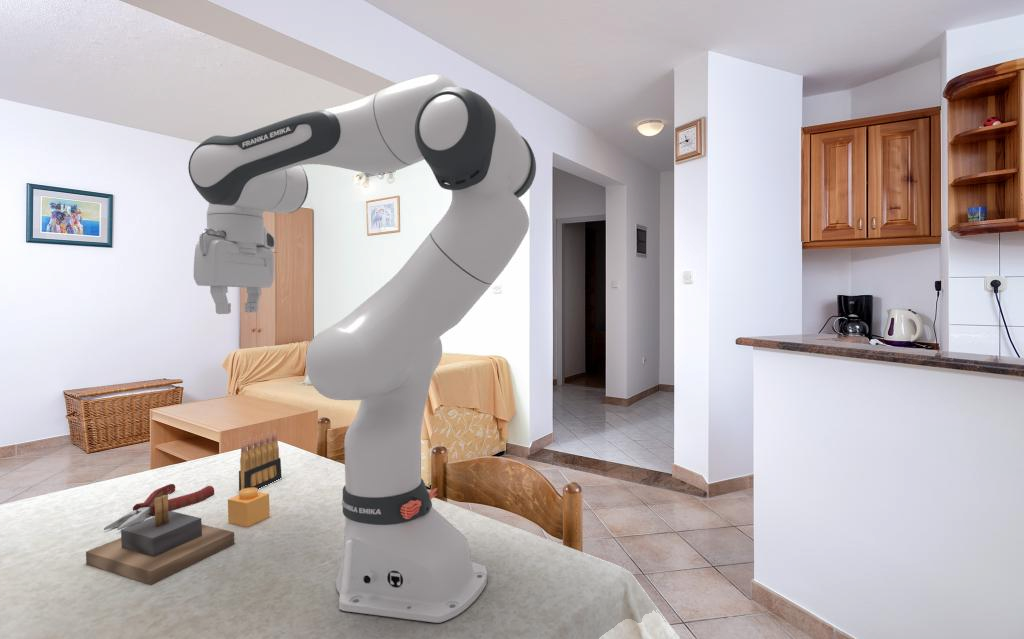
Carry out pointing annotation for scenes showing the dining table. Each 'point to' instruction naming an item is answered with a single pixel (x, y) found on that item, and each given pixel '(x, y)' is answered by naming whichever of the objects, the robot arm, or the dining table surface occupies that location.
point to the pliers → (148, 506)
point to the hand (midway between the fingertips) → (238, 313)
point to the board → (159, 562)
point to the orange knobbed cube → (248, 507)
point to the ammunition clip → (259, 462)
